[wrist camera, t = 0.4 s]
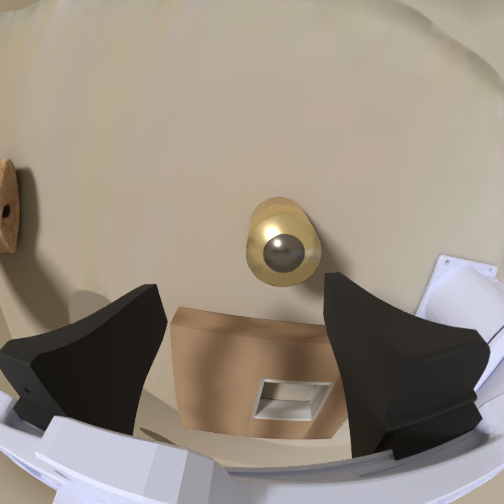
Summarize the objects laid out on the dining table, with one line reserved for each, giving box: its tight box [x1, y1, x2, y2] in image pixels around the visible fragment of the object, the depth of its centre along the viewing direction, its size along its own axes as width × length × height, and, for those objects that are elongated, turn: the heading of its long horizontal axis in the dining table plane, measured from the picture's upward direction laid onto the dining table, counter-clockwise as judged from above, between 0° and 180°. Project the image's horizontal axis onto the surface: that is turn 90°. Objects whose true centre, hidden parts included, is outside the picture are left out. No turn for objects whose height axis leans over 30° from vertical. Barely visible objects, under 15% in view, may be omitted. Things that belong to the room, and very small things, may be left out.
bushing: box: [246, 197, 321, 287], centre depth 17 cm, size 4×4×5 cm
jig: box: [170, 307, 348, 439], centre depth 24 cm, size 18×16×2 cm
